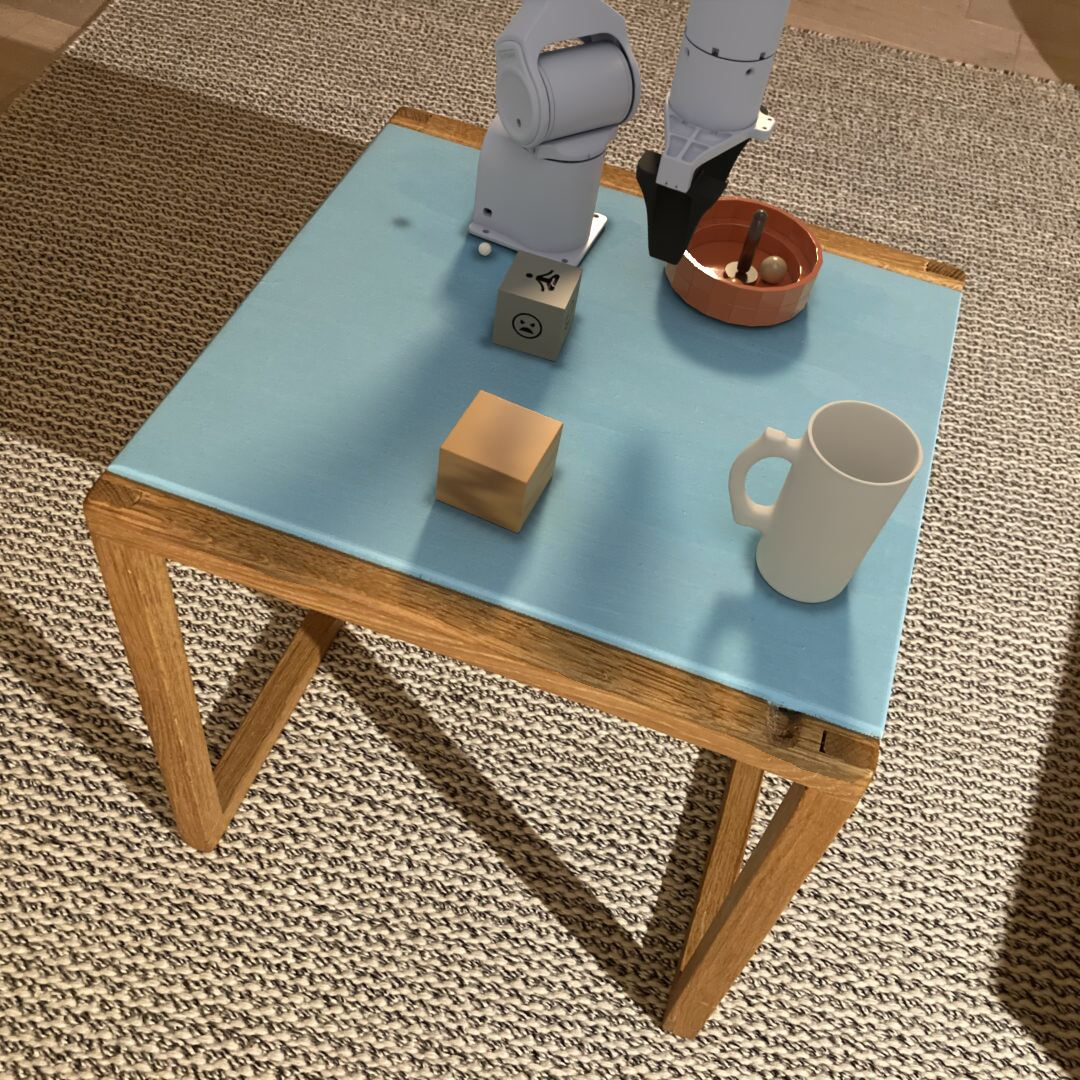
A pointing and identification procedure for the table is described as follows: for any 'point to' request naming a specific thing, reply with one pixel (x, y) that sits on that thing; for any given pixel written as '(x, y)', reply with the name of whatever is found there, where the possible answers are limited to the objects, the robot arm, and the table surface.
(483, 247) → the sphere
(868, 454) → the mug
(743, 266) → the brown peg
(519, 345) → the dice cube
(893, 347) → the table surface
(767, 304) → the bowl
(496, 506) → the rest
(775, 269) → the cream bead
